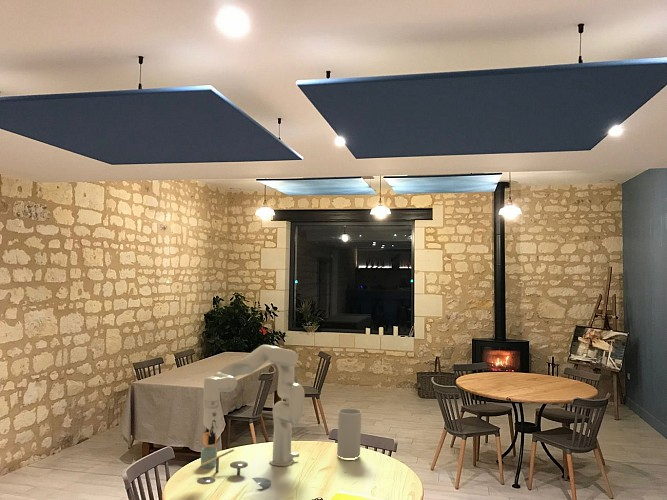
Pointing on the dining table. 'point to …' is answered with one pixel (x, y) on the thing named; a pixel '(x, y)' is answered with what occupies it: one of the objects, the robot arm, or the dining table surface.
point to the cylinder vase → (349, 433)
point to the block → (205, 440)
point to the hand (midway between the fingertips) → (209, 442)
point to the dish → (262, 482)
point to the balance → (209, 479)
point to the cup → (208, 456)
